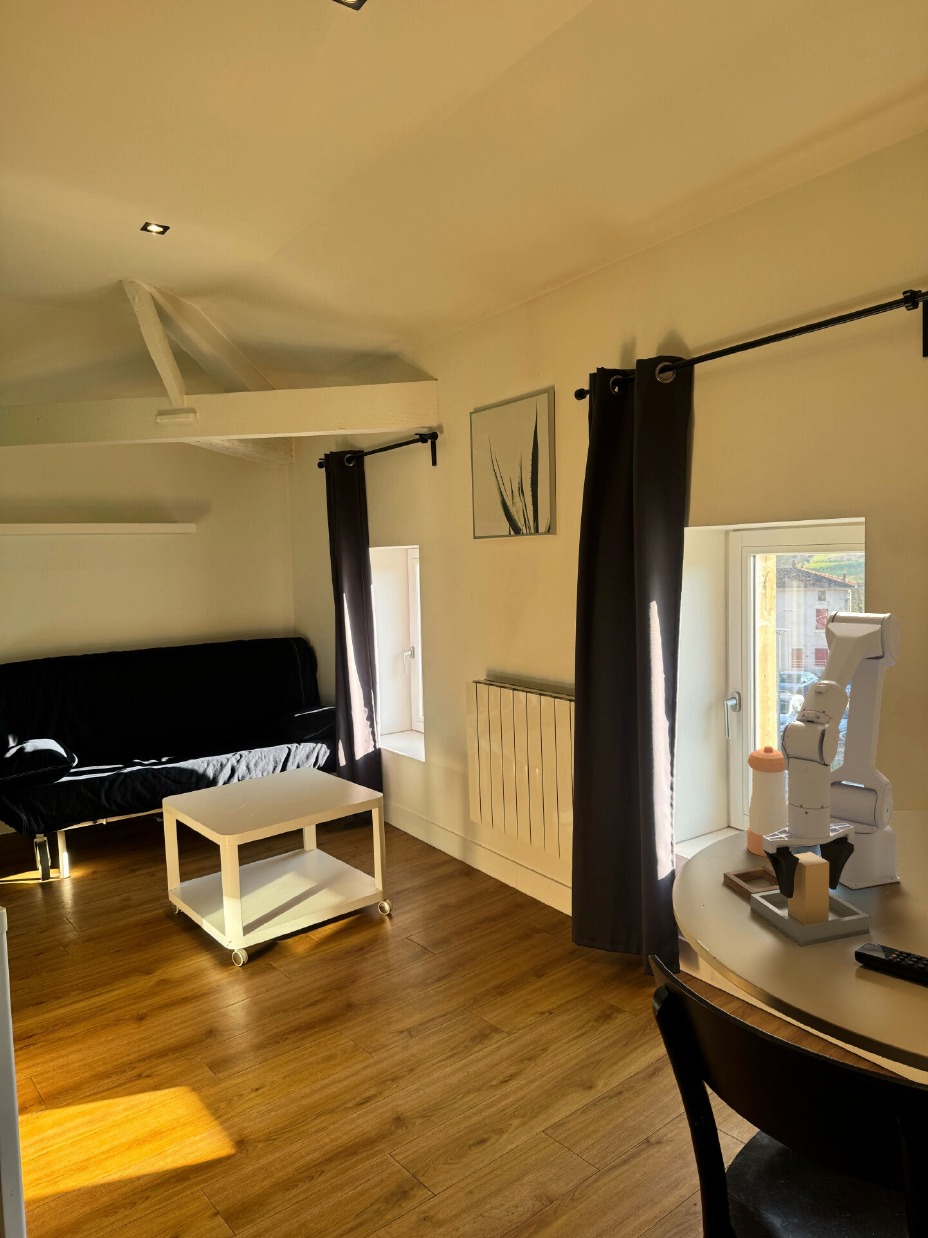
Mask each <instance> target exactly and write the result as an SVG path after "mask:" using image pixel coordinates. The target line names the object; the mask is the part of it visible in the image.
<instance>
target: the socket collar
mask: <svg viewBox="0 0 928 1238" xmlns="http://www.w3.org/2000/svg"><path fill="white" fill-rule="evenodd" d="M763 878H764V879H765V880H767V881H768V882H770V883H771V884H773V885H772V886H766V887H760V888H753V887H752V886H750V885H749V884H747V883H746V881H752V880H754V881H755V880H757V879H758V880H759V879H763ZM723 883H725V885H728V886H729V887H730V888H732V889H733V890H735V891H736V892H737V893H739V894H740V895H741V896H743V897H744V898H746V899H748V900H749V901H750V902H751V894H757V893H763V892H768V891H774V890H779V886H778V882H777V878H776V875H775V872H774V869H773V870H772V869H771V868H770V867H768V866H766V865H763V866H757V867H756V866H755V867H751V868H746V869H741V870H733V871H728V872H727V871H726V872H723Z"/></svg>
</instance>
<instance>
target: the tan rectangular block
mask: <svg viewBox="0 0 928 1238" xmlns="http://www.w3.org/2000/svg"><path fill="white" fill-rule="evenodd" d="M793 855H794V856H796V857H798V858H799V861H798V864H797V867H796V871H795V877H794V894H793V898H788V914H790V915H791V916H793V917H794V918H796V919H797V920H799V921H800V922H802V923H803V924H804V925H808V924H813V923H818V922H824V921H829V892H830V888H829V862H828V861H826V860H825V859H823V858H821V856H819V855H817V854H815V853H814V852H812V851H807V852H802V853H795V854H793Z"/></svg>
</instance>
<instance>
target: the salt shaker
mask: <svg viewBox="0 0 928 1238" xmlns="http://www.w3.org/2000/svg"><path fill="white" fill-rule="evenodd" d="M747 763H748V765H749V767H750V768H751V769H752V771H751V773H752V778H751V784H752V788H751V798H750V803H749V807H748V808H749V809H748V819H749V820H748V821H749V824H748V825H749V826H748V827H747V830H746V831H747V832H746V840H747V841H746V847H747V850H748V851H749V852H751V853H752V854H754V855H757V856H761V857H765V858H766V857H767V855H766V854H765V852H764V849H762V836H766V835H770V834H772V833H775V832H777V831H780V830H782V829H784V828H787V823H788V810H787V797H786V793H785V792H786V791H785V790H786V789H785V785H786V784H785V783H786V782H785V780H786V779H785V777H786V776H785V771H786V770H785V767H784V757H783V754H782V751H781V750H777V749H774V748H773V747H772V746H771V745H766V746H764V747H763V748H760V749H756V750H753V751H751V753H750V754H749V755H748V758H747ZM767 858H768V857H767Z"/></svg>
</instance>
